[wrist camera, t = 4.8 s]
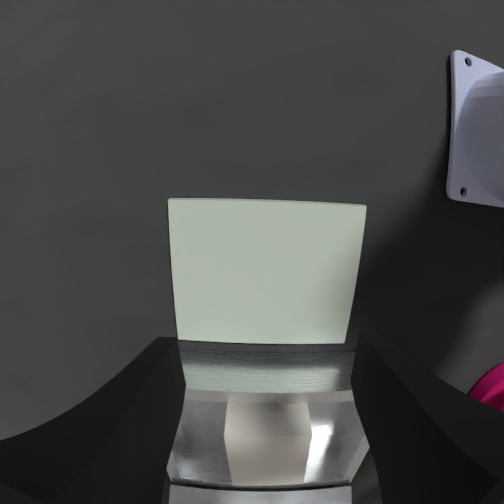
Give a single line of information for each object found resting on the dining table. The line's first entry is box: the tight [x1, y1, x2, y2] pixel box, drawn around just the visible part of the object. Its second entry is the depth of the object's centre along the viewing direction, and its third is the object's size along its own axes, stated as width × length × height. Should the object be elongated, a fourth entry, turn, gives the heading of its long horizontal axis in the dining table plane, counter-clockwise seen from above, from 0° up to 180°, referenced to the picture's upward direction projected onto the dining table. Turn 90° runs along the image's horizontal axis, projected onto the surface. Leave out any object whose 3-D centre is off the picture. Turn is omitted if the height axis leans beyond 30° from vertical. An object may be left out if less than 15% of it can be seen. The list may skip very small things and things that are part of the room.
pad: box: [168, 198, 366, 344], centre depth 15 cm, size 9×8×1 cm
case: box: [167, 349, 369, 491], centre depth 17 cm, size 13×14×5 cm
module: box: [224, 402, 312, 486], centre depth 16 cm, size 4×6×4 cm
